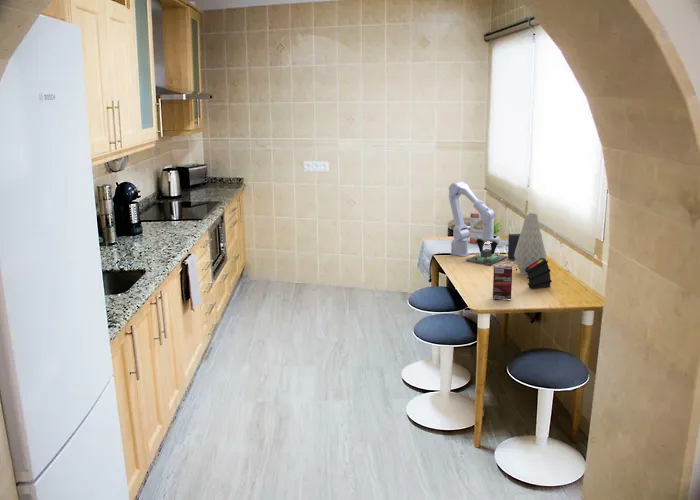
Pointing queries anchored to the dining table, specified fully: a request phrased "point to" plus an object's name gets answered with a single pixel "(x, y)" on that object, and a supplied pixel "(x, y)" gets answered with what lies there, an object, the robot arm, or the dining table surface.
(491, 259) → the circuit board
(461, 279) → the dining table surface
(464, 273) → the dining table surface
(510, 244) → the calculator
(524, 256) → the vase
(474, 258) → the chassis plate
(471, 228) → the cracker box
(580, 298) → the dining table surface
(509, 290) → the supplement box
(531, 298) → the dining table surface
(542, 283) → the magazine
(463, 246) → the robot arm
